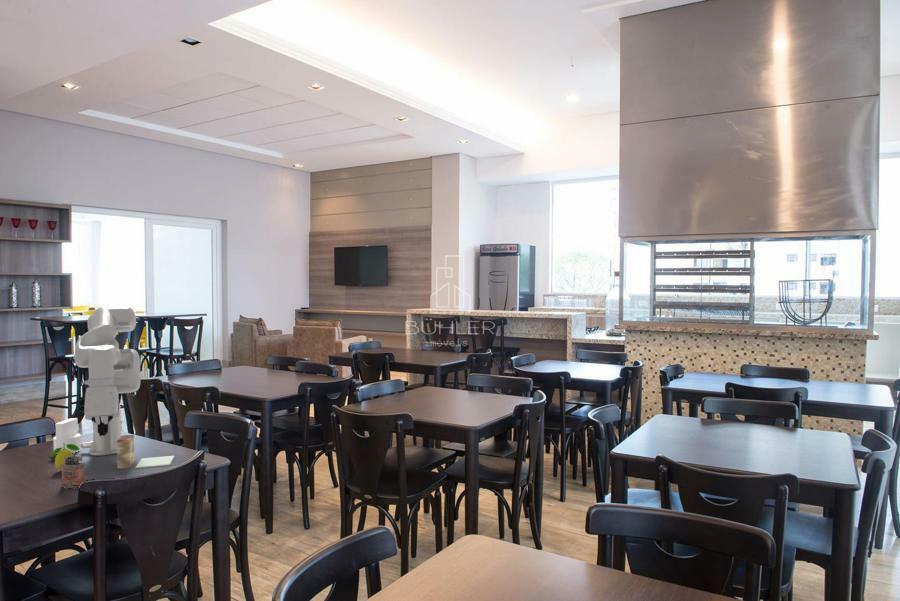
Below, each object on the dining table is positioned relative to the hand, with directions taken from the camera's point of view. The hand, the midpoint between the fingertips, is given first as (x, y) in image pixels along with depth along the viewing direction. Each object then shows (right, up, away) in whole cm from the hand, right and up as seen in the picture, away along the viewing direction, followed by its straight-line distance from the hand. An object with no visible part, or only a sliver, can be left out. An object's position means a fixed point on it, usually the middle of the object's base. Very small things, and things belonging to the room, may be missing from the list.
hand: (103, 434), depth 210 cm
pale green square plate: (+16, -11, +6) cm, 20 cm away
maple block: (+7, -12, +3) cm, 14 cm away
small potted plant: (+2, -12, -19) cm, 23 cm away
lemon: (-12, -12, -2) cm, 17 cm away
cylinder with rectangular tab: (-26, -11, +21) cm, 36 cm away
